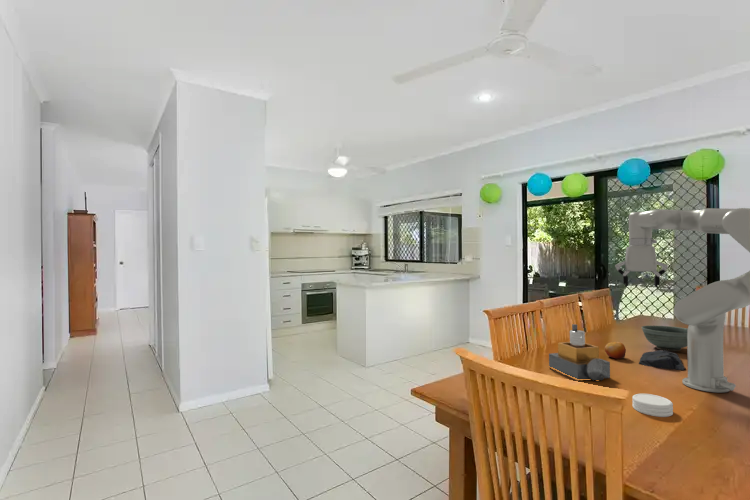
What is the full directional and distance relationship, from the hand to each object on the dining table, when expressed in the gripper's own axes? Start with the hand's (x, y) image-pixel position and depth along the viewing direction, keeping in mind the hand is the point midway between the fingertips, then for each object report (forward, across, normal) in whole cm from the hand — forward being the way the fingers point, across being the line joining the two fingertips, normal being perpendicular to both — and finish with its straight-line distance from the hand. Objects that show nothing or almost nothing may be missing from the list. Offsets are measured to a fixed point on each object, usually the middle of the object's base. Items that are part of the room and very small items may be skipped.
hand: (641, 286), depth 153 cm
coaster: (+34, +2, +43) cm, 55 cm away
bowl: (+34, -15, -44) cm, 57 cm away
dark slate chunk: (+34, -9, -17) cm, 39 cm away
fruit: (+34, +8, -17) cm, 38 cm away
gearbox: (+33, +22, +14) cm, 42 cm away
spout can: (+27, +22, +14) cm, 38 cm away
